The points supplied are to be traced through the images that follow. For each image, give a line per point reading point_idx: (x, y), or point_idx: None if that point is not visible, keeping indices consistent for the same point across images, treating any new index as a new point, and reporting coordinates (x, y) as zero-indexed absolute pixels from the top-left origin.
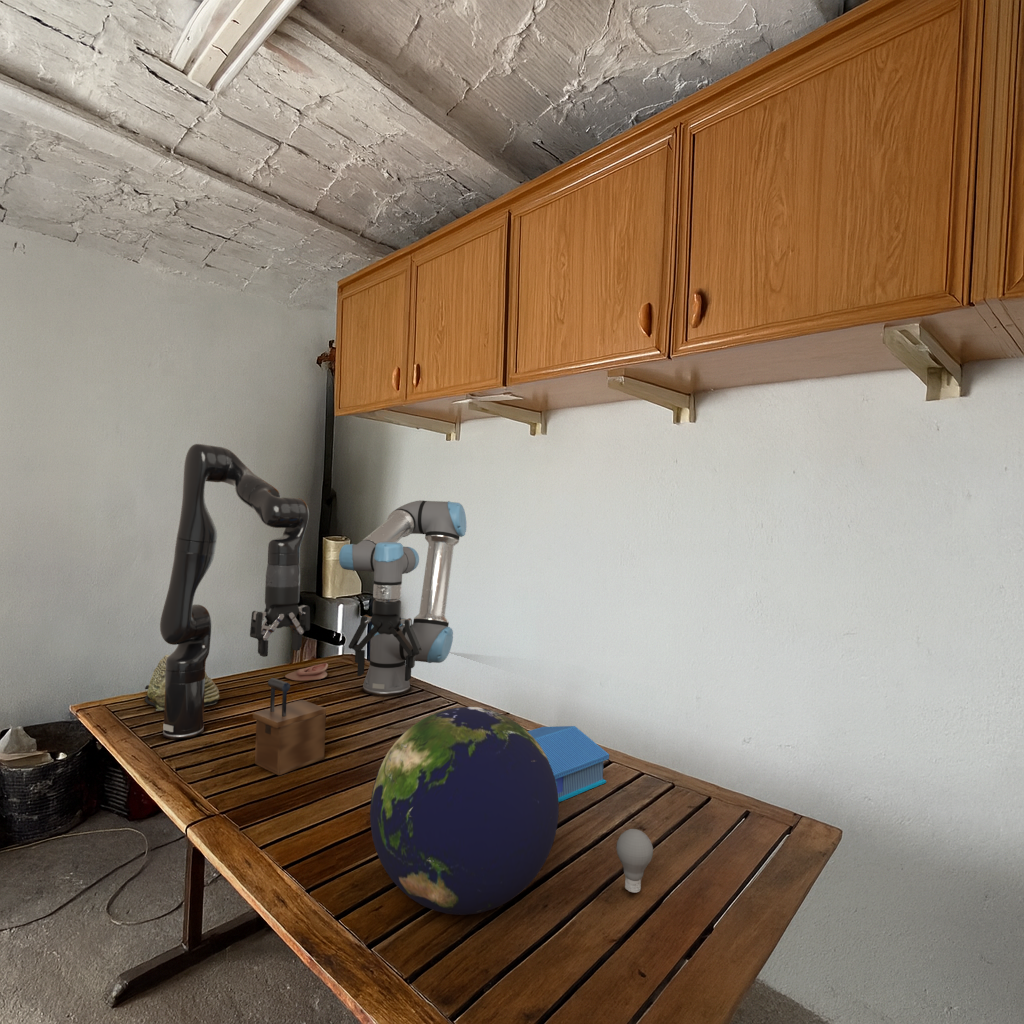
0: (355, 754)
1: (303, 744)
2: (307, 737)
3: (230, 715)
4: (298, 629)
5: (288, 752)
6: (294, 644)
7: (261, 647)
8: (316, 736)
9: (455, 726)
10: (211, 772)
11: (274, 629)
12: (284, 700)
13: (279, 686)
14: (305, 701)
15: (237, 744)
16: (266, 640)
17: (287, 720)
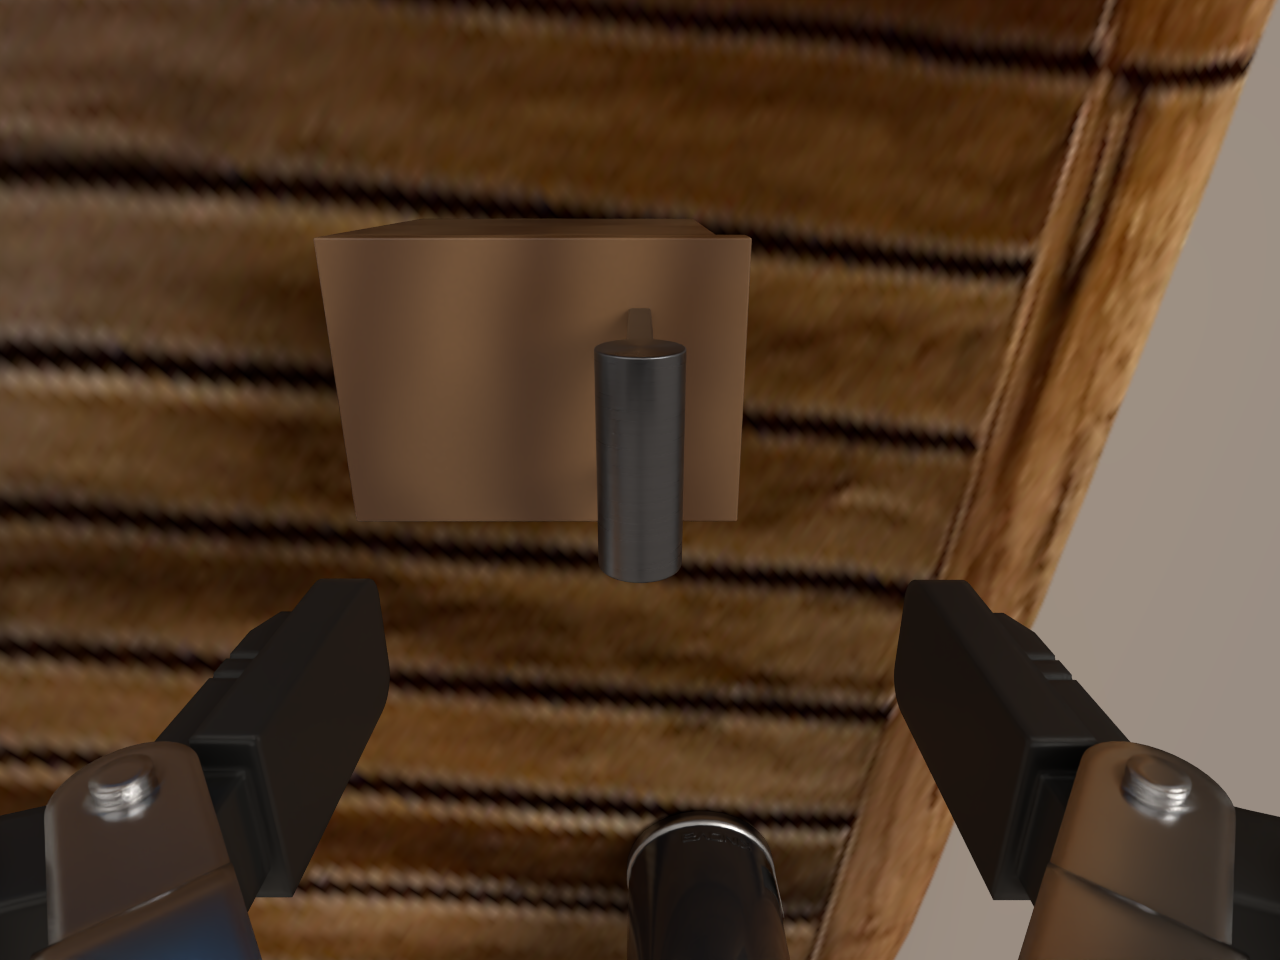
0: (260, 138)
1: (541, 225)
2: (509, 226)
3: (471, 905)
4: (174, 849)
5: (642, 224)
6: (354, 695)
7: (1080, 686)
8: (444, 226)
9: None
10: (856, 474)
11: (1064, 917)
12: (648, 329)
13: (685, 393)
14: (358, 471)
15: (617, 646)
16: (1059, 758)
17: (662, 238)
